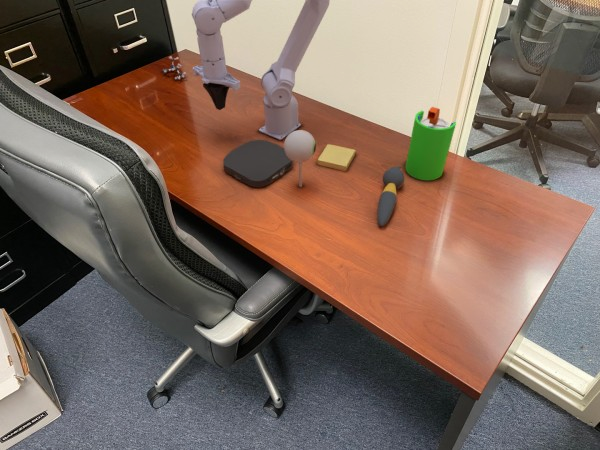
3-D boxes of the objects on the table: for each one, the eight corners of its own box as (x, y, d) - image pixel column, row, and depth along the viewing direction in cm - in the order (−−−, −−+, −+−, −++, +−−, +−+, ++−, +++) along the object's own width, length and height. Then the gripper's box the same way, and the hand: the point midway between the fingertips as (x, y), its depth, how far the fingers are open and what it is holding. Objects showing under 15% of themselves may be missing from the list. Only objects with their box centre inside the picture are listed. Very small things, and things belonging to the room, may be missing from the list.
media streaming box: (257, 143, 119) (257, 133, 117) (299, 163, 112) (299, 154, 110) (217, 169, 111) (216, 159, 109) (259, 192, 104) (258, 183, 102)
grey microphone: (397, 232, 94) (401, 215, 91) (374, 229, 95) (377, 212, 92) (403, 176, 108) (406, 159, 105) (383, 173, 109) (385, 157, 106)
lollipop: (312, 197, 103) (312, 143, 92) (282, 193, 104) (279, 140, 94) (317, 178, 108) (318, 125, 97) (289, 175, 109) (287, 122, 98)
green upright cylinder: (445, 166, 111) (462, 101, 98) (438, 184, 106) (455, 118, 93) (409, 157, 114) (422, 93, 101) (401, 175, 109) (413, 109, 96)
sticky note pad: (327, 148, 117) (327, 143, 116) (355, 154, 115) (355, 149, 114) (317, 164, 112) (317, 159, 111) (345, 171, 110) (346, 166, 109)
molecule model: (180, 73, 154) (164, 52, 149) (194, 72, 145) (178, 50, 140) (167, 84, 152) (151, 64, 148) (180, 84, 143) (164, 62, 139)
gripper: (179, 54, 106) (190, 105, 115) (222, 70, 99) (230, 123, 109) (200, 45, 110) (209, 95, 119) (243, 59, 103) (249, 111, 113)
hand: (220, 107), depth 114 cm, fingers closed
